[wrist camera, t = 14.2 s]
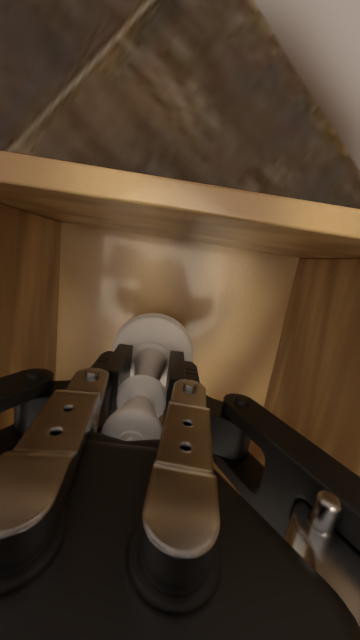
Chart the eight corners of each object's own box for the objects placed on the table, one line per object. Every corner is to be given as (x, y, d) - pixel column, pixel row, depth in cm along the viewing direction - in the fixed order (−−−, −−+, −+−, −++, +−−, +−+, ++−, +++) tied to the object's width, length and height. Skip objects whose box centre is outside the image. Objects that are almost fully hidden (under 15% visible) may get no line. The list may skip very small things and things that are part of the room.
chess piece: (209, 358, 16) (257, 507, 7) (147, 402, 17) (108, 596, 7) (160, 296, 15) (131, 360, 6) (96, 344, 16) (-27, 478, 6)
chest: (48, 404, 22) (-102, 578, 10) (55, 210, 19) (-161, 123, 7) (262, 430, 23) (357, 616, 11) (307, 248, 20) (516, 233, 8)
